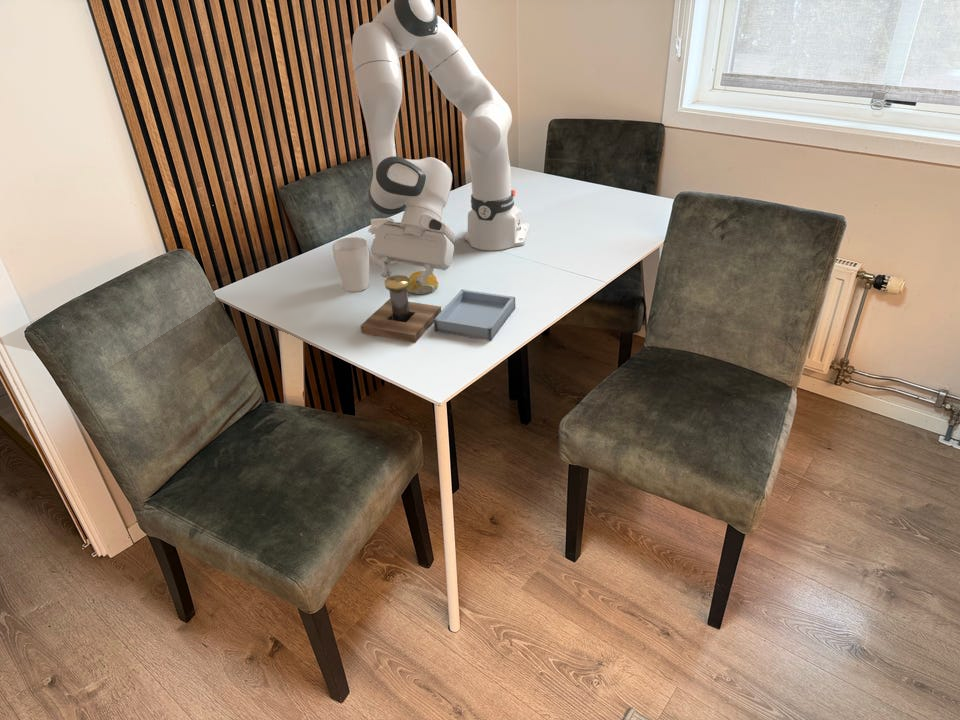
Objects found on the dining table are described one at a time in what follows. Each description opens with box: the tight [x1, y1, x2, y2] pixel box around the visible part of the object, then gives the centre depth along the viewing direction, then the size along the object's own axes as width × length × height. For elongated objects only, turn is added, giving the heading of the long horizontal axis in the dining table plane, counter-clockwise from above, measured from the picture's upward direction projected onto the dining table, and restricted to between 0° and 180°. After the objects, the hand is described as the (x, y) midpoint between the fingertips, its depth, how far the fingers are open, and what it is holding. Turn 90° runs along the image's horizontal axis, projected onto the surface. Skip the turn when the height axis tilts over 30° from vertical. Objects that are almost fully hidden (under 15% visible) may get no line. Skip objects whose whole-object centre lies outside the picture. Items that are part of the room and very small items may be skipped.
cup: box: [331, 236, 370, 293], centre depth 172 cm, size 9×9×12 cm
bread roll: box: [407, 270, 439, 295], centre depth 173 cm, size 8×9×4 cm
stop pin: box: [384, 274, 410, 322], centre depth 155 cm, size 6×6×11 cm
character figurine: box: [367, 217, 398, 265], centre depth 187 cm, size 9×10×12 cm
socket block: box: [360, 298, 442, 343], centre depth 157 cm, size 14×14×2 cm
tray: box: [433, 289, 516, 341], centre depth 157 cm, size 16×14×3 cm
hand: (401, 280), depth 155 cm, fingers open, 8 cm apart
